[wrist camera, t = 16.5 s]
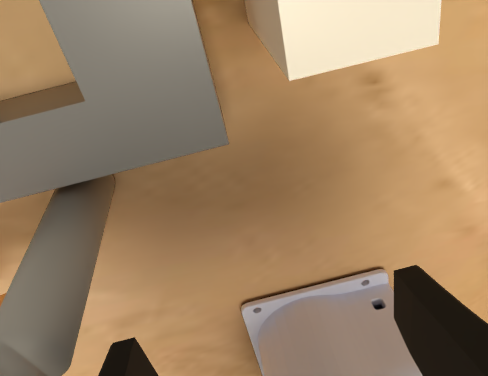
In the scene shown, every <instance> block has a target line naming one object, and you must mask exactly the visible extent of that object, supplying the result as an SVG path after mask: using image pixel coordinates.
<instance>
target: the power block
mask: <svg viewBox="0 0 488 376" xmlns="http://www.w3.org/2000/svg"><path fill="white" fill-rule="evenodd" d="M39 1H40V3H41V6H42V8H43V10H44V12H45V14H46V17H47V19H48V21H49V23H50V25H51V27H52V30H53V32H54V34H55V36H56V38H57V40H58V43H59V45H60V47H61V49H62V51H63V53H64V56H65V58H66V60H67V62H68V64H69V67H70V69H71V71H72V73H73V75H74V77H75V80H76V82H73V83H69V84H65V85H61V86H57V87H53V88H50V89H46V90H42V91H38V92H34V93H30V94H26V95H22V96H19V97H15V98H11V99H7V100H3V101H0V203H2V202H5V201H9V200H13V199H17V198H21V197H25V196H29V195H33V194H37V193H41V192H44V191H48V190H52V189H56V188H60V187H64V186H68V185H72V184H76V183H80V182H83V181H87V180H91V179H95V178H99V177H103V176H107V175H111V174H115V173H119V172H122V171H126V170H130V169H134V168H138V167H142V166H146V165H150V164H154V163H157V162H161V161H165V160H169V159H173V158H177V157H181V156H185V155H189V154H193V153H196V152H200V151H204V150H208V149H212V148H216V147H220V146H224V145H228V144H229V141H228V137H227V133H226V128H225V124H224V119H223V115H222V111H221V108H220V104H219V100H218V96H217V92H216V89H215V85H214V81H213V77H212V73H211V70H210V66H209V62H208V58H207V54H206V51H205V47H204V43H203V39H202V35H201V32H200V28H199V24H198V20H197V16H196V13H195V9H194V5H193V1H192V0H39Z"/></svg>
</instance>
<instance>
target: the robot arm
mask: <svg viewBox="0 0 488 376" xmlns="http://www.w3.org/2000/svg"><path fill="white" fill-rule="evenodd" d="M364 280H365V281H364ZM257 307H258V308H257ZM241 312H242V316H243V319H244V322H245V325H246V328H247V331H248V334H249V337H250V340H251V343H252V346H253V349H254V352H255V355H256V358H257V361H258V364H259V367H260V370H261V373H262V375H263V376H488V324H487V323H486V322H485V321H484V320H482V319H481V318H480V317H478V316H477V315H476V314H475V313H473V312H472V311H471V310H470V309H468V308H467V307H466V306H465V305H463V304H462V303H461V302H460V301H459V300H457V299H456V298H455V297H454V296H453V295H451V294H450V293H449V292H448V291H447V290H445V289H444V288H443V287H442V286H441V285H440V284H438V283H437V282H436V281H435V280H434V279H433V278H431V277H430V276H429V275H428V274H427V273H426V272H425V271H424V270H422V269H421V268H420V267H419V266H417V265H414V266H410V267H406V268H403V269H399V270H395V271H394V292H393V290H392V288H391V287H390V285H389V283H388V274H387V272H386V271H385V270H383V269H378V270H374V271H370V272H366V273H362V274H358V275H354V276H350V277H346V278H342V279H338V280H335V281H331V282H327V283H323V284H319V285H315V286H311V287H307V288H303V289H299V290H295V291H291V292H287V293H283V294H279V295H276V296H272V297H268V298H264V299H260V300H256V301H252V302H248V303H245V304H244V305H242V307H241ZM98 376H158V374H157V373H156V371H155V369H154V368H153V366H152V364H151V363H150V361H149V360H148V358H147V356H146V355H145V353H144V351H143V350H142V348H141V347H140V345H139V343H138V342H137V340H136V339H135V337H134V338H130V339H127V340H123V341H119V342H115V343H113V344H112V345H111V347H110V349H109V352H108V354H107V356H106V359H105V361H104V363H103V366H102V368H101V371H100V373H99V375H98Z"/></svg>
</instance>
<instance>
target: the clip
mask: <svg viewBox="0 0 488 376" xmlns="http://www.w3.org/2000/svg"><path fill="white" fill-rule="evenodd" d="M114 188H115V181H114V177H113V175H112V174H111V175H107V176H103V177H99V178H95V179H91V180H87V181H83V182H80V183H76V184H72V185H68V186H64V187H60V188H56V189H55V191H54V194H53V196H52V198H51V200H50V202H49V204H48V206H47V208H46V211H45V213H44V215H43V217H42V219H41V221H40V223H39V225H38V227H37V230H36V232H35V234H34V236H33V238H32V240H31V242H30V244H29V247H28V249H27V251H26V253H25V255H24V257H23V259H22V261H21V264H20V266H19V268H18V270H17V272H16V274H15V276H14V278H13V281H12V283H11V285H10V287H9V289H8V291H7V293H5V294H3V295H0V376H61V375H63V374H64V373H65V372H66V371H67V370H68V369H69V367H70V365H71V361H72V357H73V353H74V349H75V345H76V341H77V337H78V333H79V329H80V325H81V321H82V317H83V313H84V309H85V305H86V301H87V297H88V293H89V289H90V285H91V281H92V277H93V272H94V268H95V264H96V260H97V256H98V252H99V248H100V244H101V240H102V236H103V232H104V228H105V224H106V220H107V216H108V212H109V208H110V204H111V200H112V196H113V192H114Z"/></svg>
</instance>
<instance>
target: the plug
mask: <svg viewBox="0 0 488 376" xmlns="http://www.w3.org/2000/svg"><path fill="white" fill-rule="evenodd" d="M244 2H245V8H246V13H247V18H248V24H249V25H250V26H251V28H252V29H253V31H254V32H255V33H256V35H257V36H258V38H259V39H260V40H261V42H262V43H263V45H264V46H265V47H266V49H267V50H268V52H269V53H270V55H271V56H272V57H273V59H274V60H275V62H276V63H277V64H278V66H279V67H280V69H281V70H282V71H283V73H284V74H285V76H286V77H287V78H288V80H289V81H291V80H295V79H299V78H304V77H308V76H312V75H316V74H320V73H324V72H328V71H332V70H336V69H340V68H344V67H348V66H352V65H356V64H360V63H364V62H368V61H372V60H376V59H381V58H385V57H389V56H393V55H397V54H401V53H405V52H409V51H413V50H417V49H421V48H425V47H429V46H433V45H437V44H438V43H439V28H440V13H441V0H244Z"/></svg>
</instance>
